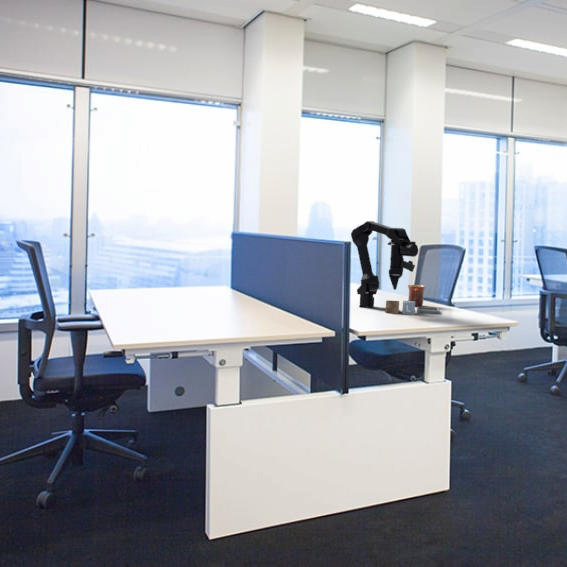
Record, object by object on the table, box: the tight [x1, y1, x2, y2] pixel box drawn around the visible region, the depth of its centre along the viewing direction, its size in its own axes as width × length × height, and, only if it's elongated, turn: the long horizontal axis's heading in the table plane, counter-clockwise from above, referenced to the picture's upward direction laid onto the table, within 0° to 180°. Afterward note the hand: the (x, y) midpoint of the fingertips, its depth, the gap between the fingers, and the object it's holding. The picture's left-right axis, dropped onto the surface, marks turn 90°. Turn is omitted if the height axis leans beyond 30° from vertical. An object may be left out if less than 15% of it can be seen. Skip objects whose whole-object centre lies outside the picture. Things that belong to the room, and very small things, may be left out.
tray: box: [416, 306, 440, 315], centre depth 283 cm, size 10×10×2 cm
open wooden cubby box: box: [385, 299, 400, 314], centre depth 279 cm, size 6×6×5 cm
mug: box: [407, 284, 426, 308], centre depth 300 cm, size 12×9×10 cm
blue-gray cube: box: [401, 300, 416, 315], centre depth 277 cm, size 6×6×6 cm
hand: (395, 288), depth 277 cm, fingers open, 9 cm apart
